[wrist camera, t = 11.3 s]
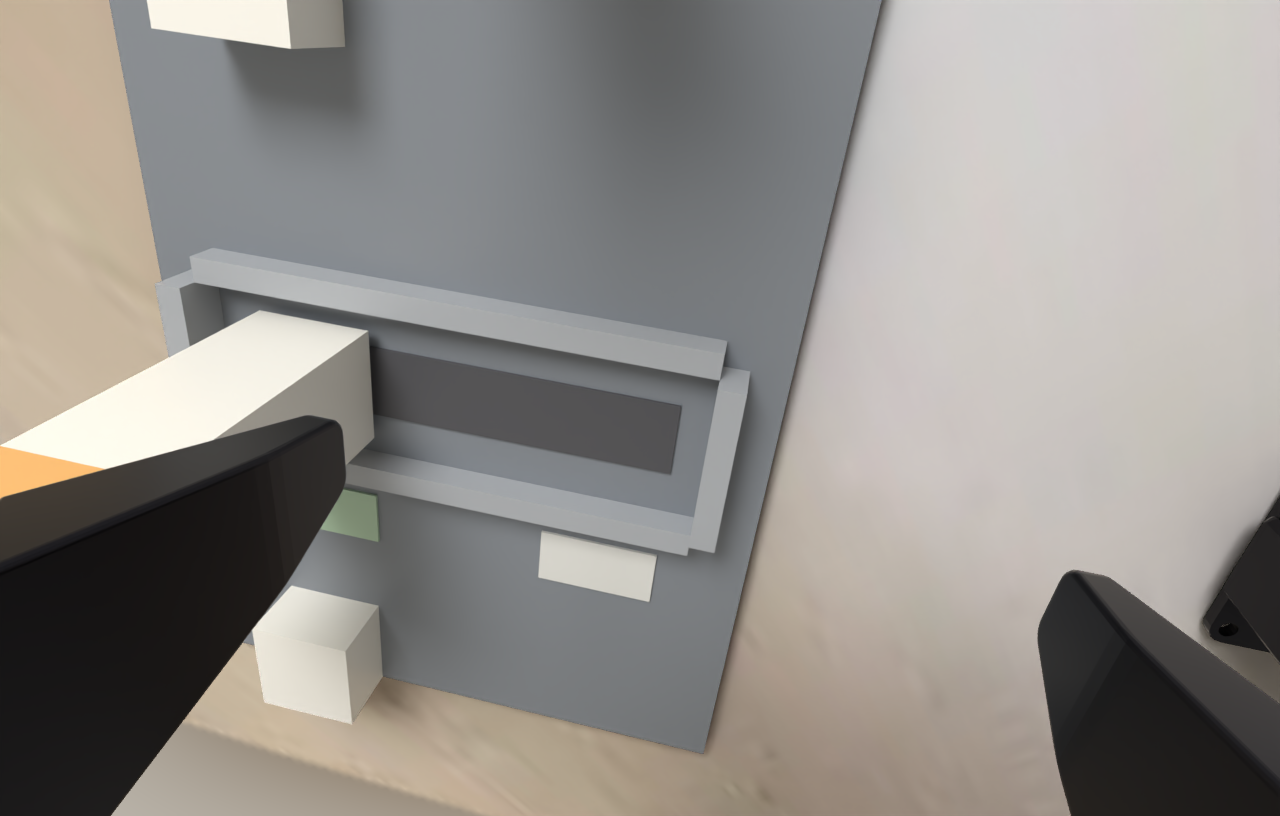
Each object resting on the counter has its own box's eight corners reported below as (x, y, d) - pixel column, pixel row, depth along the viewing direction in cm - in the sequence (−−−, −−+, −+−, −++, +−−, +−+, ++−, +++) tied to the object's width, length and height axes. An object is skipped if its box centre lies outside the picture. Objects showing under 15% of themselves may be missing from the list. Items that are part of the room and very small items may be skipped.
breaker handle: (370, 329, 23) (57, 549, 13) (375, 439, 25) (105, 702, 15) (257, 308, 23) (-125, 506, 14) (271, 417, 25) (-57, 661, 15)
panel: (893, -60, 17) (911, -76, 14) (704, 741, 30) (696, 810, 27) (99, -155, 19) (-13, -184, 16) (238, 629, 32) (188, 683, 29)
